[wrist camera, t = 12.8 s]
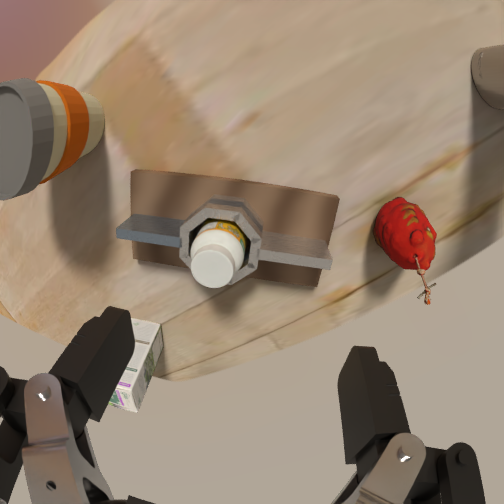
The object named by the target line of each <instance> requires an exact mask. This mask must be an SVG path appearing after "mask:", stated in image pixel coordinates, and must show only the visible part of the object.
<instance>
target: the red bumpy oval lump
mask: <svg viewBox="0 0 504 504" xmlns="http://www.w3.org/2000/svg"><path fill="white" fill-rule="evenodd" d="M373 234H374V237H375V241H376V243H377V244H378V245H379V246H380V247H381V248H383V250H384V252H385V253H386V254H387V255H388V256H389V258H390V259H391V260H392V261H394V262H395V263H397V264H398V265H399V266H400V267H402V268H403V269H412V270H417V274H419V275H421V277H422V279H423V283H424V286H425V290H424V292H423V293H422V294H420V295H419V296H418V297H417V298H418V299H419V298H420V297H421V296H423V294H424V293H425V294H426V295H425V300H424V302H425V304H427V305H428V304H430V297H429V294H430V288H431V287H433V286H435V285H436V283H434V284H433V285H431V286H429V287H427V284H426V282H425V280H424V277H423V275H424V274H425V271H426V270H427V269H429V267H430V263H431V261H432V260H433V259H434V257H435V245H434V243H435V239H436V236H437V234H436V232H435V231H434V229H433V227H432V226H431V224H430V223H429V221H428V219H427V217H426V216H425V214H424V212H423V210H421V209H420V208H419V206H418V205H416V204H412V203H409V202H407V201H406V200H405V199H404V198H402V197H397V198H395V199H393V201H389V202H388V203H386V204H384V205H383V207H382V208H381V209H380V211H379V213H378V215H377V218H376V223H375V227H374V229H373Z"/></svg>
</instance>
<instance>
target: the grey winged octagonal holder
mask: <svg viewBox="0 0 504 504" xmlns="http://www.w3.org/2000/svg"><path fill="white" fill-rule="evenodd" d="M207 218H215V219H222V220H230V221H235V222H236V223H237V225H238V226H239V227H240V228H241V229H242V231H243V232H244V233H245V234H246V235H247V237H248V238H249V239H250V240H251V245H250V246H248V247H247V248H245V254H244V260H243V263H242V266H241V268H240V269H239V270H238V272H237V273H235V274H234V275H233V277H232V279H231V280H230V282H229V283H228V285H232V284H234V283H236V282H237V281H239V280H240V279H242V278H244V277H245V276H247V275H248V274H250V273H252V272H253V271H255V270H256V269H257V265H258V260H265V261H272V262H279V263H285V264H292V265H299V266H306V267H313V268H320V269H327V270H330V268H331V264H332V261H333V260H332V257H331V254H330V252H329V249H328V246H327V244H326V241H324V240H318V239H311V238H305V237H299V236H292V235H286V234H279V233H273V232H266V231H263V221H262V219H261V218H260V217H259V216H258V214H257V213H256V212H255V211H254V209H253V208H252V207H251V206H250V204H249V203H248V202H247V201H246V199H245V198H238V197H231V196H223V195H215V194H214V195H213V196H212V197H211V198H209V199H208V200H207V201H205V202H204V203H203V204H202V205H200V206H199V207H198V208H197V209H195V210H194V211H193V212H192V213H191V214H190V215H189V217H188V218H187V219H186V220H181V219H173V218H165V217H158V216H150V215H142V214H133V215H132V216H131V217H129V218H128V219H127V220H126V221H124V222H123V223H122V224H121V225H120V226H118V227H117V228H116V234H117V238H120V239H126V240H133V241H139V242H145V243H152V244H158V245H165V246H172V247H178V248H180V252H179V257H180V258H181V260H182V261H183V262H184V263H185V264H186V265H187V266H188V267H189V268H190V269H191V262H192V260H191V247H192V244H193V242H194V240H195V238H196V236H197V234H198V233H199V227H200V223H202V222H203V221H204V220H206V219H207Z"/></svg>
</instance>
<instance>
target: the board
mask: <svg viewBox="0 0 504 504" xmlns="http://www.w3.org/2000/svg"><path fill="white" fill-rule="evenodd" d="M214 194H215V195H223V196H231V197H238V198H245V199H246V201H247V202H248V203H249V204H250V206H251V207H252V208H253V209H254V211H255V212H256V213H257V214H258V216H259V217H260V218H261V219H262V221H263V231H266V232H273V233H279V234H286V235H292V236H299V237H305V238H311V239H318V240H324V241H326V244H327V246H328V245H329V241H330V237H331V233H332V229H333V225H334V221H335V217H336V212H337V208H338V204H339V200H340V199H339V198H338V196H336V195H331V194H326V193H320V192H315V191H309V190H303V189H298V188H292V187H285V186H279V185H273V184H266V183H259V182H252V181H245V180H238V179H230V178H222V177H213V176H204V175H195V174H185V173H175V172H163V171H151V170H137V169H136V170H134V171H131V216H132V215H133V214H142V215H150V216H158V217H165V218H173V219H181V220H186V219H187V218H188V217H189V215H190V214H191V213H192V212H193V211H194V210H195V209H197V208H198V207H199V206H200V205H202V204H203V203H204V202H205V201H207V200H208V199H209V198H211V197H212V196H213V195H214ZM204 222H205V220H204V221H203V222H202V223H200V227H199V231H200V229H201V227H202V225H203V224H204ZM250 245H251V240H250V239H249V238H248V237H247V243H246V248H247V247H248V246H250ZM132 250H133V259H138V260H144V261H150V262H156V263H161V264H167V265H173V266H179V267H186V268H189V267H188V266H187V265H186V264H185V263H184V262H183V261H182V260H181V258H180V257H179V252H180V248H178V247H172V246H165V245H158V244H152V243H145V242H139V241H133V240H132ZM321 271H322V269H320V268H313V267H306V266H299V265H292V264H285V263H279V262H272V261H265V260H258V265H257V269H256V270H255V271H253V272H252V273H250V274H248V275H247V276H245V277H250V278H257V279H264V280H271V281H278V282H285V283H292V284H299V285H306V286H314V287H317V285H318V282H319V278H320V275H321Z"/></svg>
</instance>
